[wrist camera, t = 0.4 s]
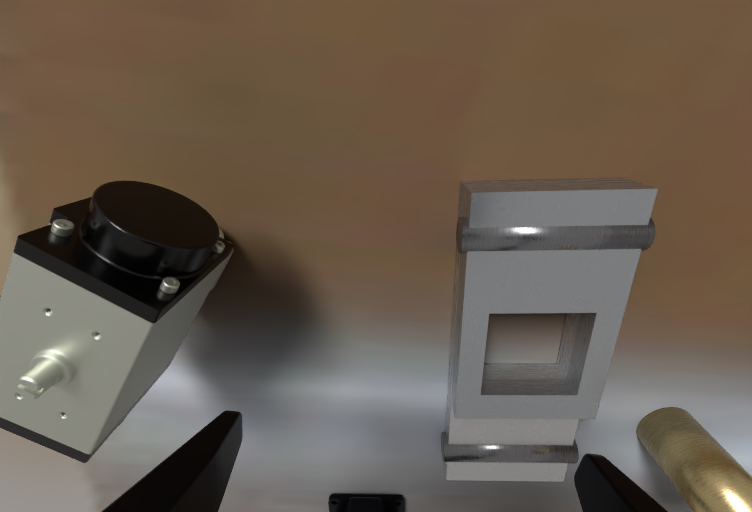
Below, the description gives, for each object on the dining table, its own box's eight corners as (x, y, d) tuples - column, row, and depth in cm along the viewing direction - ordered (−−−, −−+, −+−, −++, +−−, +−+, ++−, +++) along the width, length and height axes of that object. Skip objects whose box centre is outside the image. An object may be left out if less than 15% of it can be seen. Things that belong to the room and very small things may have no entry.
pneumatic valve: (276, 198, 21) (154, 296, 10) (200, 334, 25) (53, 509, 14) (190, 145, 20) (-48, 189, 9) (125, 295, 24) (-97, 451, 13)
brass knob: (688, 451, 28) (815, 596, 20) (622, 450, 28) (720, 593, 20) (709, 402, 26) (859, 539, 18) (638, 402, 26) (754, 537, 18)
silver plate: (559, 463, 29) (578, 504, 26) (439, 462, 29) (445, 502, 26) (626, 177, 20) (667, 189, 17) (455, 181, 21) (466, 193, 18)
